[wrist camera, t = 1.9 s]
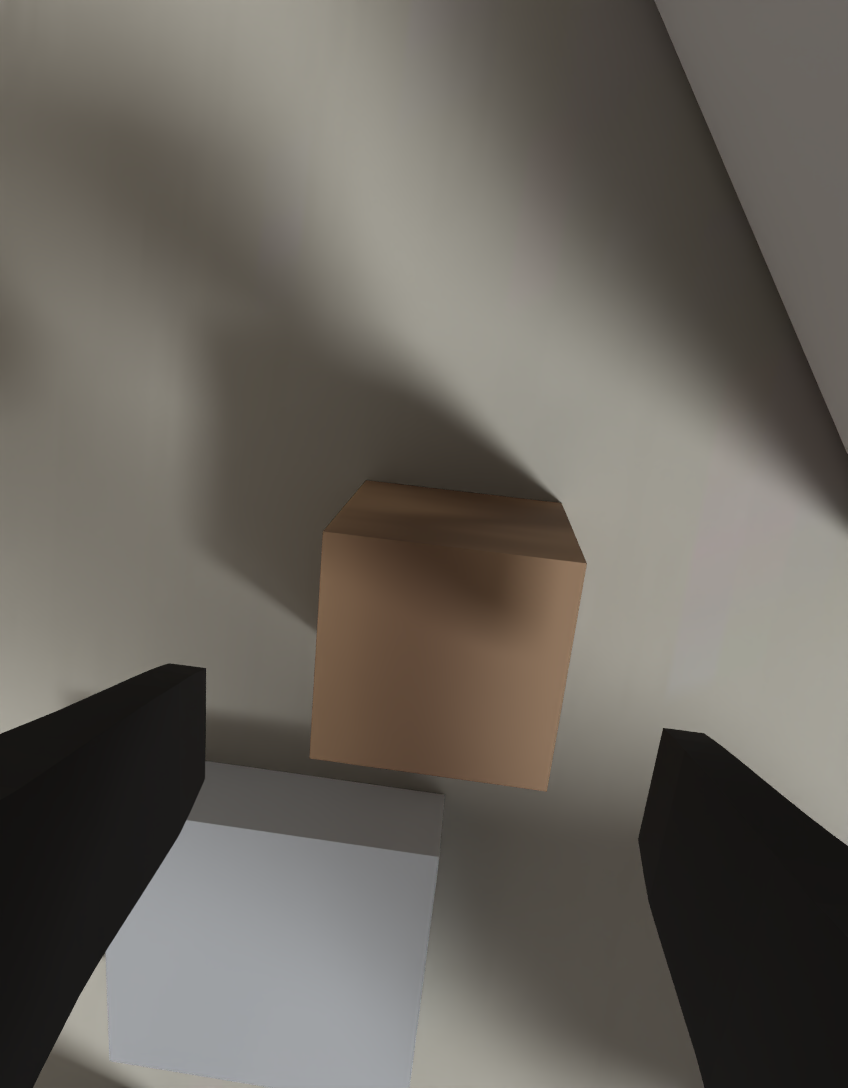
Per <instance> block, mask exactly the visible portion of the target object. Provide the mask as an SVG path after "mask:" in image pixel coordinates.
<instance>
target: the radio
mask: <svg viewBox="0 0 848 1088" xmlns="http://www.w3.org/2000/svg"><path fill="white" fill-rule="evenodd" d="M654 1H655V3H656V5H657V8H658V10H659V13H660V15H661V17H662V20H663V22H664V24H665V27H666V29H667V31H668V34H669V36H670V38H671V41H672V43H673V45H674V48H675V50H676V52H677V55H678V57H679V59H680V62H681V64H682V67H683V69H684V71H685V74H686V76H687V78H688V81H689V83H690V85H691V88H692V90H693V92H694V95H695V97H696V99H697V102H698V104H699V106H700V109H701V111H702V114H703V116H704V118H705V121H706V123H707V125H708V128H709V130H710V132H711V135H712V137H713V139H714V142H715V144H716V146H717V149H718V151H719V153H720V156H721V158H722V160H723V163H724V165H725V168H726V170H727V172H728V175H729V177H730V179H731V182H732V184H733V186H734V189H735V191H736V193H737V196H738V198H739V200H740V203H741V205H742V207H743V210H744V212H745V215H746V217H747V219H748V222H749V224H750V226H751V229H752V231H753V233H754V236H755V238H756V240H757V243H758V245H759V247H760V250H761V252H762V254H763V257H764V259H765V261H766V264H767V266H768V269H769V271H770V273H771V276H772V278H773V280H774V283H775V285H776V287H777V290H778V292H779V294H780V297H781V299H782V301H783V304H784V306H785V308H786V311H787V313H788V316H789V318H790V320H791V323H792V325H793V327H794V330H795V332H796V334H797V337H798V339H799V341H800V344H801V346H802V348H803V351H804V353H805V355H806V358H807V360H808V362H809V365H810V367H811V370H812V372H813V374H814V377H815V379H816V381H817V384H818V386H819V388H820V391H821V393H822V395H823V398H824V400H825V402H826V405H827V407H828V409H829V412H830V414H831V416H832V419H833V421H834V424H835V426H836V428H837V431H838V433H839V435H840V438H841V440H842V442H843V445H844V447H845V449H846V452H847V454H848V0H654Z"/></svg>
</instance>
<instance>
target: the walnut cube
mask: <svg viewBox="0 0 848 1088" xmlns="http://www.w3.org/2000/svg"><path fill="white" fill-rule="evenodd" d="M586 565H587V563H586V560H585V558H584V556H583V553H582V551H581V549H580V546H579V544H578V541H577V539H576V537H575V534H574V532H573V529H572V527H571V525H570V522H569V520H568V517H567V515H566V513H565V510H564V508H563V506H562V503H557V502H549V501H540V500H532V499H523V498H514V497H506V496H497V495H488V494H480V493H471V492H463V491H454V490H445V489H437V488H428V487H419V486H411V485H402V484H394V483H385V482H376V481H368V480H366V481H365V482H364V483H363V485H362V486H361V487H360V488H359V489H358V490H357V492H356V493H355V494H354V495H353V496H352V498H351V499H350V500H349V501H348V502H347V503H346V505H345V506H344V507H343V508H342V509H341V511H340V512H339V513H338V514H337V515H336V517H335V518H334V519H333V520H332V521H331V522H330V524H329V525H328V526H327V527H326V528H325V530H324V531H323V537H322V554H321V571H320V588H319V605H318V622H317V639H316V656H315V673H314V689H313V706H312V723H311V740H310V757H309V758H310V759H318V760H325V761H332V762H339V763H346V764H353V765H361V766H368V767H375V768H382V769H389V770H396V771H404V772H411V773H418V774H425V775H432V776H439V777H447V778H454V779H461V780H468V781H475V782H482V783H490V784H497V785H504V786H511V787H518V788H525V789H533V790H540V791H547V788H548V782H549V776H550V770H551V765H552V759H553V753H554V748H555V742H556V736H557V730H558V725H559V719H560V713H561V708H562V702H563V696H564V690H565V685H566V679H567V673H568V668H569V662H570V656H571V650H572V645H573V639H574V633H575V628H576V622H577V616H578V610H579V605H580V599H581V593H582V588H583V582H584V576H585V571H586Z"/></svg>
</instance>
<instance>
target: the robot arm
mask: <svg viewBox="0 0 848 1088" xmlns="http://www.w3.org/2000/svg"><path fill="white" fill-rule="evenodd" d="M205 739H206V668H200V667H192V666H185V665H177V664H166V665H163V666H160V667H157V668H154V669H152V670H149V671H147V672H144V673H142V674H139V675H137V676H135V677H133V678H130V679H128V680H126V681H123V682H121V683H119V684H117V685H115V686H112V687H110V688H108V689H106V690H103V691H101V692H99V693H97V694H94V695H92V696H90V697H88V698H85V699H83V700H81V701H79V702H77V703H74V704H72V705H70V706H68V707H65V708H63V709H61V710H58V711H56V712H54V713H51V714H49V715H46V716H44V717H41V718H39V719H36V720H34V721H31V722H29V723H26V724H24V725H21V726H19V727H16V728H14V729H11V730H9V731H7V732H4V733H2V734H0V1088H33V1086H34V1084H35V1082H36V1080H37V1078H38V1076H39V1074H40V1072H41V1070H42V1068H43V1066H44V1064H45V1062H46V1060H47V1058H48V1056H49V1054H50V1052H51V1050H52V1048H53V1046H54V1044H55V1042H56V1040H57V1038H58V1037H59V1035H60V1033H61V1031H62V1029H63V1027H64V1025H65V1023H66V1021H67V1019H68V1017H69V1015H70V1013H71V1011H72V1009H73V1007H74V1005H75V1003H76V1001H77V999H78V997H79V996H80V994H81V992H82V990H83V989H84V987H85V985H86V983H87V982H88V980H89V978H90V977H91V975H92V973H93V971H94V970H95V968H96V966H97V965H98V963H99V961H100V960H101V958H102V957H103V955H104V953H105V952H106V950H107V949H108V947H109V946H110V944H111V942H112V941H113V939H114V938H115V936H116V935H117V933H118V931H119V930H120V928H121V927H122V925H123V924H124V922H125V921H126V919H127V917H128V916H129V914H130V913H131V911H132V910H133V908H134V906H135V905H136V903H137V902H138V900H139V899H140V897H141V895H142V894H143V892H144V891H145V889H146V888H147V886H148V884H149V883H150V881H151V880H152V878H153V877H154V875H155V873H156V872H157V870H158V869H159V867H160V865H161V864H162V862H163V861H164V859H165V857H166V856H167V854H168V853H169V851H170V849H171V848H172V846H173V845H174V843H175V841H176V840H177V838H178V836H179V835H180V833H181V831H182V828H183V826H184V824H185V822H186V820H187V818H188V816H189V814H190V812H191V810H192V807H193V805H194V803H195V801H196V798H197V796H198V794H199V792H200V789H201V787H202V785H203V783H204V780H205ZM638 841H639V847H640V853H641V860H642V866H643V873H644V878H645V884H646V889H647V895H648V900H649V904H650V908H651V911H652V915H653V918H654V921H655V925H656V928H657V931H658V935H659V938H660V941H661V944H662V948H663V951H664V954H665V958H666V961H667V964H668V967H669V970H670V974H671V977H672V980H673V983H674V986H675V990H676V993H677V996H678V999H679V1003H680V1006H681V1009H682V1012H683V1015H684V1019H685V1022H686V1025H687V1028H688V1031H689V1035H690V1038H691V1041H692V1044H693V1048H694V1051H695V1054H696V1057H697V1061H698V1065H699V1069H700V1072H701V1076H702V1080H703V1084H704V1087H705V1088H848V846H847V845H846V844H844V843H843V842H842V841H840V840H839V839H838V838H836V837H835V836H833V835H832V834H831V833H830V832H828V831H827V830H826V829H824V828H823V827H822V826H820V825H819V824H818V823H816V822H815V821H814V820H813V819H811V818H810V817H809V816H807V815H806V814H805V813H804V812H802V811H801V810H800V809H799V808H797V807H796V806H795V805H794V804H792V803H791V802H790V801H789V800H787V799H786V798H785V797H784V796H782V795H781V794H780V793H779V792H778V791H776V790H775V789H774V788H773V787H771V786H770V785H769V784H768V783H767V782H765V781H764V780H763V779H762V778H760V777H759V776H758V775H757V774H756V773H754V772H753V771H752V770H751V769H749V768H748V767H747V766H746V765H745V764H743V763H742V762H741V761H740V760H739V759H737V758H736V757H735V756H734V755H732V754H731V753H730V752H729V751H727V750H726V749H725V748H723V747H722V746H721V745H720V744H718V743H717V742H716V741H714V740H713V739H711V738H710V737H708V736H707V735H705V734H704V733H697V732H690V731H682V730H674V729H667V728H663V731H662V736H661V740H660V745H659V749H658V753H657V758H656V762H655V767H654V771H653V776H652V780H651V785H650V789H649V794H648V798H647V802H646V807H645V811H644V816H643V820H642V825H641V829H640V834H639V838H638Z"/></svg>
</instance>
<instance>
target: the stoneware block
mask: <svg viewBox="0 0 848 1088" xmlns="http://www.w3.org/2000/svg"><path fill="white" fill-rule="evenodd" d="M444 802H445V795H443V794H436V793H429V792H422V791H415V790H407V789H400V788H393V787H386V786H379V785H372V784H365V783H358V782H351V781H344V780H337V779H330V778H323V777H316V776H309V775H302V774H295V773H288V772H281V771H274V770H267V769H260V768H253V767H246V766H238V765H231V764H224V763H217V762H210V761H205V780H204V783H203V785H202V787H201V789H200V792H199V794H198V796H197V798H196V801H195V803H194V805H193V807H192V810H191V812H190V814H189V816H188V818H187V820H186V822H185V824H184V826H183V828H182V831H181V833H180V835H179V836H178V838H177V840H176V841H175V843H174V845H173V846H172V848H171V849H170V851H169V853H168V854H167V856H166V857H165V859H164V861H163V862H162V864H161V865H160V867H159V869H158V870H157V872H156V873H155V875H154V877H153V878H152V880H151V881H150V883H149V884H148V886H147V888H146V889H145V891H144V892H143V894H142V895H141V897H140V899H139V900H138V902H137V903H136V905H135V906H134V908H133V910H132V911H131V913H130V914H129V916H128V917H127V919H126V921H125V922H124V924H123V925H122V927H121V928H120V930H119V931H118V933H117V935H116V936H115V938H114V939H113V941H112V942H111V944H110V946H109V947H108V949H107V950H106V979H107V1006H108V1032H109V1059H110V1061H113V1062H119V1063H125V1064H131V1065H137V1066H143V1067H149V1068H155V1069H161V1070H167V1071H173V1072H179V1073H185V1074H191V1075H197V1076H203V1077H209V1078H215V1079H221V1080H227V1081H234V1082H240V1083H246V1084H252V1085H258V1086H264V1087H270V1088H410V1080H411V1072H412V1065H413V1057H414V1049H415V1041H416V1034H417V1026H418V1018H419V1011H420V1003H421V995H422V987H423V980H424V972H425V964H426V957H427V949H428V941H429V933H430V926H431V918H432V910H433V903H434V895H435V887H436V879H437V872H438V864H439V856H440V845H441V835H442V824H443V813H444Z"/></svg>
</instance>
